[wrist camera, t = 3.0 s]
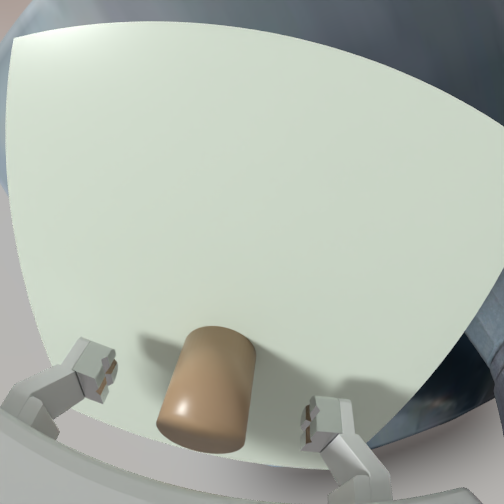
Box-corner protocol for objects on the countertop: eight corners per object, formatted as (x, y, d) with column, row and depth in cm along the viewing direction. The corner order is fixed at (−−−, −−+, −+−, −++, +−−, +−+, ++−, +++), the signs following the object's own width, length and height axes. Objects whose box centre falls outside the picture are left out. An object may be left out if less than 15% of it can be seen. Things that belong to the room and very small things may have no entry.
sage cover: (424, 115, 18) (620, 201, 3) (326, 353, 29) (335, 515, 15) (144, 51, 17) (-69, 45, 3) (128, 307, 29) (50, 449, 14)
